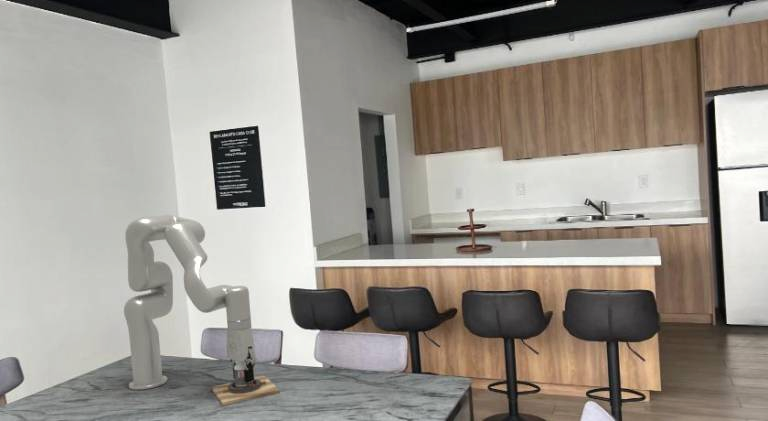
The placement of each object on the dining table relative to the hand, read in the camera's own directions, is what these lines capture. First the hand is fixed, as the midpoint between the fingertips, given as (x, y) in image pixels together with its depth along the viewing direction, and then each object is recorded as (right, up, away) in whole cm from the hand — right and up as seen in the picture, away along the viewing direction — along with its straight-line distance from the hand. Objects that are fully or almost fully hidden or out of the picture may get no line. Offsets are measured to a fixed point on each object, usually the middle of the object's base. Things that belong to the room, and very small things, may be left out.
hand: (243, 378), depth 187 cm
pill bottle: (0, -3, 0) cm, 3 cm away
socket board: (0, -4, 0) cm, 4 cm away
